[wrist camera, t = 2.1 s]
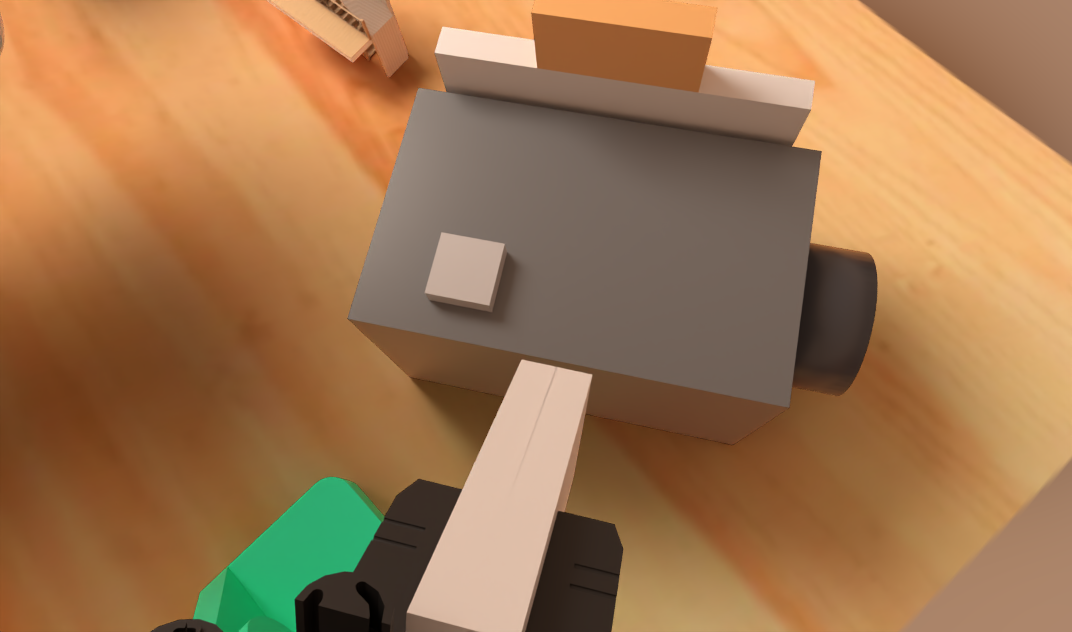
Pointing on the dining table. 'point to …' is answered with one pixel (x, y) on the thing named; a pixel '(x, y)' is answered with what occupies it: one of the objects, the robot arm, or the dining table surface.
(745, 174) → the camera body
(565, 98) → the side door
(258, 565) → the camera mount
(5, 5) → the dining table surface
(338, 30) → the architectural model
